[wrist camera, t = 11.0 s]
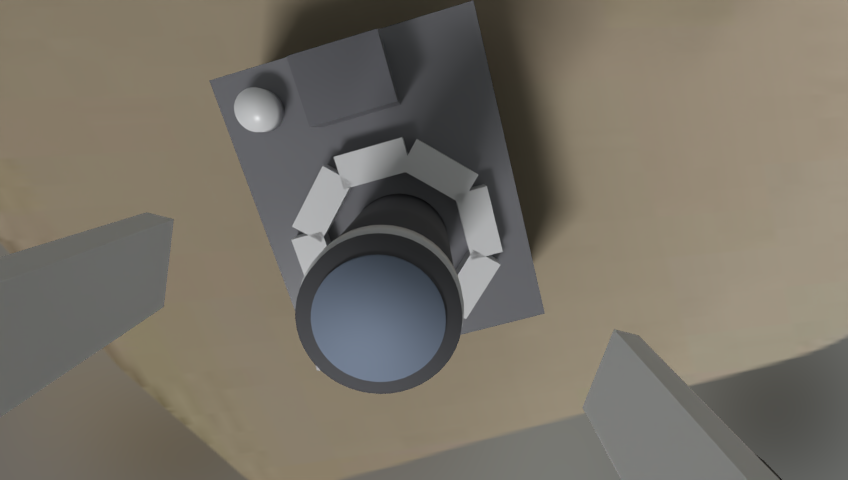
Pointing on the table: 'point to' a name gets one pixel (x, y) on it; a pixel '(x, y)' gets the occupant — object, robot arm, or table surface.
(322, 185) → the camera body
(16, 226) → the table surface
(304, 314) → the lens
